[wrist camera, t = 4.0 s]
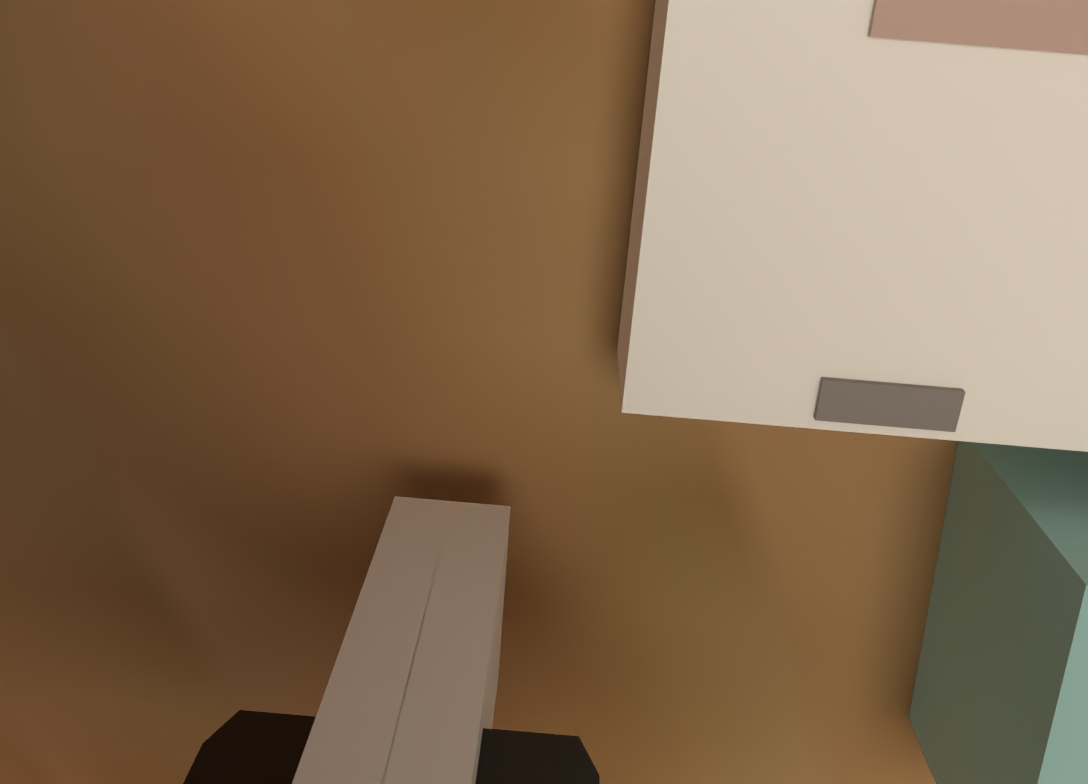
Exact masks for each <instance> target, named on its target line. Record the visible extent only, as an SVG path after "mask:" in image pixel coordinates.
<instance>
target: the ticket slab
mask: <svg viewBox="0 0 1088 784" xmlns="http://www.w3.org/2000/svg"><path fill="white" fill-rule="evenodd" d="M617 358H618V371H619V385H620V398H621V412H622V413H633V414H645V415H656V416H668V417H680V418H692V419H704V420H716V421H728V422H740V423H751V424H763V425H775V426H787V427H799V428H811V429H823V430H835V431H846V432H858V433H870V434H882V435H894V436H906V437H918V438H930V439H942V440H953V441H965V442H977V443H989V444H1001V445H1013V446H1025V447H1037V448H1048V449H1060V450H1072V451H1084V452H1088V0H656V1H655V10H654V19H653V28H652V37H651V46H650V56H649V65H648V74H647V83H646V92H645V101H644V110H643V119H642V128H641V137H640V147H639V156H638V165H637V174H636V183H635V192H634V201H633V210H632V219H631V228H630V237H629V247H628V256H627V265H626V274H625V283H624V292H623V301H622V310H621V319H620V328H619V337H618V347H617Z"/></svg>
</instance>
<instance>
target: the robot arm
mask: <svg viewBox="0 0 1088 784" xmlns="http://www.w3.org/2000/svg"><path fill="white" fill-rule="evenodd" d="M510 508H511V506H503V505H491V504H479V503H468V502H456V501H444V500H433V499H421V498H409V497H398V496H395V497H394V500H393V503H392V505H391V508H390V511H389V514H388V517H387V519H386V522H385V525H384V528H383V530H382V533H381V536H380V539H379V542H378V544H377V547H376V550H375V553H374V556H373V558H372V561H371V564H370V567H369V570H368V572H367V575H366V578H365V581H364V584H363V586H362V589H361V592H360V595H359V598H358V600H357V603H356V606H355V609H354V612H353V614H352V617H351V620H350V623H349V626H348V628H347V631H346V634H345V637H344V640H343V642H342V645H341V648H340V651H339V654H338V656H337V659H336V662H335V665H334V668H333V670H332V673H331V676H330V679H329V681H328V684H327V687H326V690H325V693H324V695H323V698H322V701H321V704H320V707H319V709H318V712H317V715H316V717H313V716H301V715H290V714H278V713H267V712H255V711H244V710H239V711H238V712H237V713H236V714H235V715H234V716H233V717H232V718H231V719H230V720H228V721H227V722H226V723H225V724H224V725H223V726H222V727H221V728H220V729H218V730H217V731H216V732H215V733H214V734H213V735H212V736H211V737H210V738H208V739H207V740H206V741H205V742H204V743H203V744H202V746H201V748H200V750H199V752H198V754H197V757H196V759H195V761H194V763H193V765H192V767H191V769H190V771H189V773H188V775H187V777H186V779H185V781H184V783H183V784H599V774H598V772H597V770H596V768H595V766H594V764H593V763H592V761H591V759H590V757H589V755H588V753H587V751H586V749H585V747H584V746H583V744H582V742H581V740H580V738H579V737H578V736H566V735H555V734H543V733H532V732H520V731H509V730H498V729H492V725H493V717H494V709H495V701H496V693H497V685H498V676H499V662H500V648H501V634H502V620H503V606H504V592H505V578H506V564H507V550H508V536H509V522H510Z"/></svg>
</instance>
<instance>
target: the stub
mask: <svg viewBox="0 0 1088 784" xmlns="http://www.w3.org/2000/svg"><path fill="white" fill-rule="evenodd" d="M909 720H910V723H911V725H912V727H913V730H914V732H915V735H916V737H917V739H918V742H919V744H920V746H921V749H922V751H923V754H924V756H925V758H926V761H927V763H928V765H929V768H930V770H931V772H932V775H933V777H934V780H935V782H936V784H1088V452H1084V451H1072V450H1060V449H1048V448H1037V447H1025V446H1013V445H1001V444H989V443H977V442H965V441H958V445H957V451H956V456H955V462H954V468H953V473H952V479H951V484H950V490H949V495H948V501H947V507H946V512H945V518H944V523H943V529H942V535H941V540H940V546H939V551H938V557H937V563H936V568H935V574H934V579H933V585H932V590H931V596H930V602H929V607H928V613H927V618H926V624H925V630H924V635H923V641H922V646H921V652H920V658H919V663H918V669H917V674H916V680H915V685H914V691H913V697H912V702H911V708H910V713H909Z"/></svg>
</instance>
